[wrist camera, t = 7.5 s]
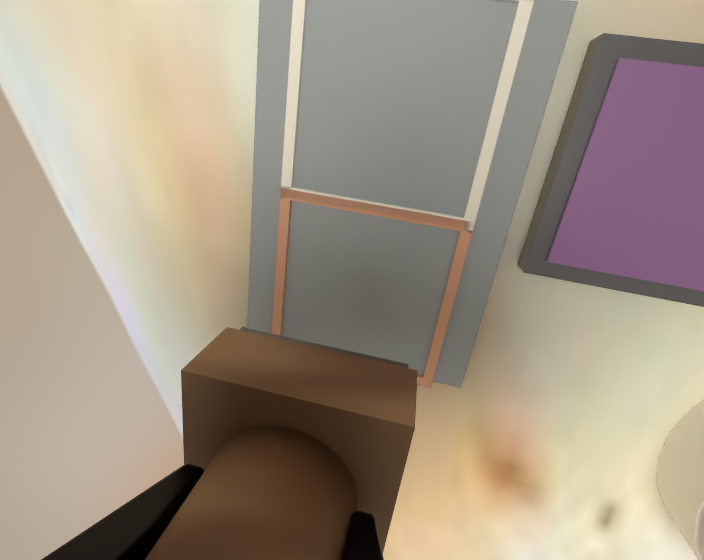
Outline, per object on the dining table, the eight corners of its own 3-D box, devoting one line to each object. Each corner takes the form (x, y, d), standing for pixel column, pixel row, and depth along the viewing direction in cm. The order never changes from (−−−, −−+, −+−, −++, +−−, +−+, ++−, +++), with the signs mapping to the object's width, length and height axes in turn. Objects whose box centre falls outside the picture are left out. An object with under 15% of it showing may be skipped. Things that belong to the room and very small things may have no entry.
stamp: (418, 359, 10) (402, 708, 4) (385, 497, 12) (339, 880, 6) (236, 319, 10) (-27, 564, 4) (232, 456, 12) (42, 761, 6)
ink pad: (832, 67, 13) (875, 60, 12) (705, 299, 17) (728, 312, 15) (590, 41, 14) (606, 31, 13) (518, 263, 18) (524, 273, 16)
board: (575, -4, 14) (583, -11, 13) (458, 385, 21) (459, 394, 20) (267, -33, 15) (258, -42, 15) (251, 336, 22) (245, 343, 21)
